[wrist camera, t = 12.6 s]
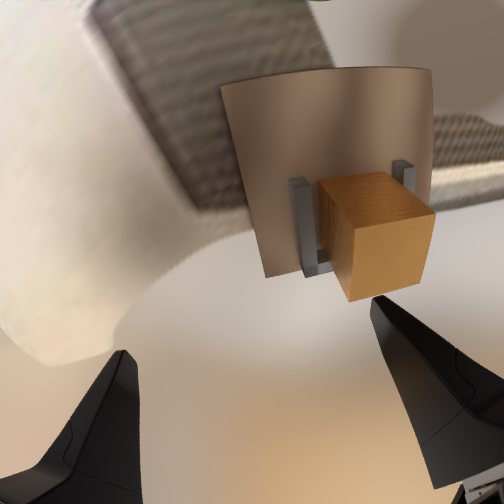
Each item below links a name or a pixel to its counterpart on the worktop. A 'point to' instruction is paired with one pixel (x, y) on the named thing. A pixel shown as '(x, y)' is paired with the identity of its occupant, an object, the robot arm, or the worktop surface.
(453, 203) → the worktop surface
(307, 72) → the dock
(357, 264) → the block
